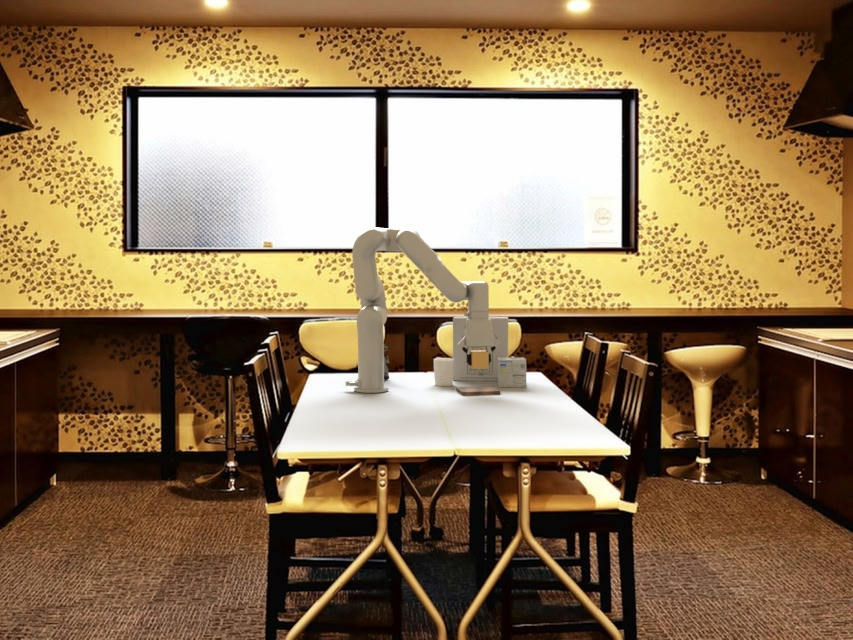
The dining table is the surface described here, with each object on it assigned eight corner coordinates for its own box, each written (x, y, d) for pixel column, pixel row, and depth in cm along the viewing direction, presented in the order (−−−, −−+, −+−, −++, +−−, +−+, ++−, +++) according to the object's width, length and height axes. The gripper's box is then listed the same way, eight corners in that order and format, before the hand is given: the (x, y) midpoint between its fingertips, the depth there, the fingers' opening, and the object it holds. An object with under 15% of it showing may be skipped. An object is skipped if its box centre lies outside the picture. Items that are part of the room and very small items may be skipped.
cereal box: (507, 378, 371) (508, 316, 369) (507, 381, 363) (507, 318, 361) (454, 377, 373) (454, 316, 371) (452, 380, 365) (452, 317, 363)
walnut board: (462, 395, 330) (462, 392, 330) (456, 390, 341) (456, 387, 341) (500, 394, 333) (500, 390, 332) (493, 389, 343) (493, 386, 343)
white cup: (431, 386, 352) (431, 360, 351) (436, 383, 359) (436, 357, 358) (451, 386, 350) (451, 360, 349) (456, 383, 357) (456, 358, 356)
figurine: (373, 377, 375) (373, 340, 374) (391, 380, 367) (391, 342, 365) (355, 379, 369) (355, 342, 368) (373, 382, 361) (373, 344, 359)
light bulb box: (524, 384, 355) (524, 356, 354) (526, 387, 349) (527, 359, 348) (496, 384, 355) (496, 357, 354) (498, 387, 348) (498, 359, 347)
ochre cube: (472, 369, 332) (472, 352, 332) (469, 366, 338) (468, 350, 338) (488, 368, 333) (488, 352, 333) (484, 366, 339) (484, 350, 339)
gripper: (457, 316, 329) (457, 367, 331) (504, 315, 332) (504, 365, 334) (453, 315, 337) (453, 364, 338) (499, 314, 340) (499, 362, 341)
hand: (478, 364), depth 336 cm, fingers closed on ochre cube, 6 cm apart
